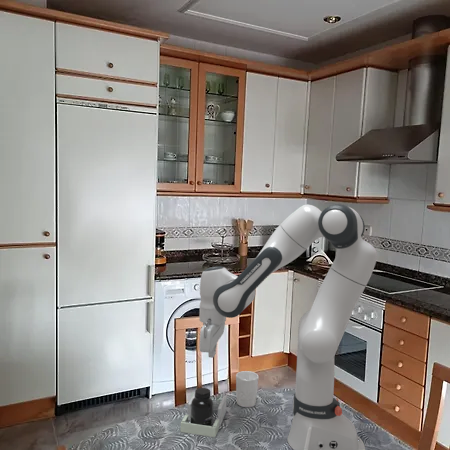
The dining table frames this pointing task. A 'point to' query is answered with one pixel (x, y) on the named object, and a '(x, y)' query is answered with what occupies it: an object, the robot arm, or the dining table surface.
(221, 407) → the channel
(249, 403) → the white cup
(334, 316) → the robot arm
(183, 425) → the dock
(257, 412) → the dining table surface
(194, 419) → the supplement bottle
